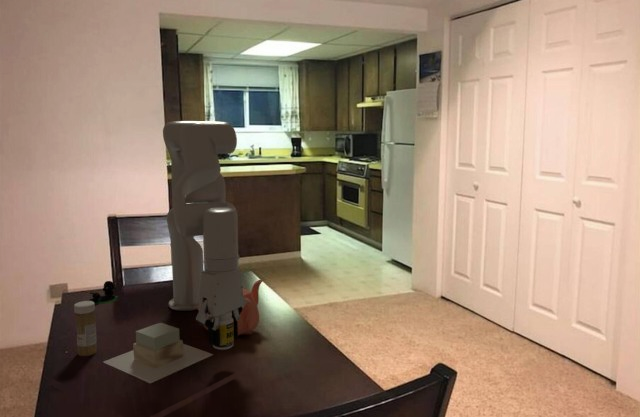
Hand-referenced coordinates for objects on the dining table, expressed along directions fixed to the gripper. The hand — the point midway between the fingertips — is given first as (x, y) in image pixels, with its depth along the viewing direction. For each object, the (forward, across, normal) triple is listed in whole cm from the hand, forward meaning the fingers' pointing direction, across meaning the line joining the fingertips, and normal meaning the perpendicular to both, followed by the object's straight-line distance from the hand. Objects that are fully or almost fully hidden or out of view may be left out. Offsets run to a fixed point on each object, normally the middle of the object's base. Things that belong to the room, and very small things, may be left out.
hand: (223, 339), depth 120 cm
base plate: (+7, +6, -15) cm, 18 cm away
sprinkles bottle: (+8, +14, -32) cm, 36 cm away
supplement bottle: (+2, 0, 0) cm, 2 cm away
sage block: (+2, +6, -15) cm, 17 cm away
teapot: (+8, -18, -15) cm, 25 cm away
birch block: (+6, +6, -15) cm, 18 cm away
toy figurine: (+9, -13, -69) cm, 71 cm away
